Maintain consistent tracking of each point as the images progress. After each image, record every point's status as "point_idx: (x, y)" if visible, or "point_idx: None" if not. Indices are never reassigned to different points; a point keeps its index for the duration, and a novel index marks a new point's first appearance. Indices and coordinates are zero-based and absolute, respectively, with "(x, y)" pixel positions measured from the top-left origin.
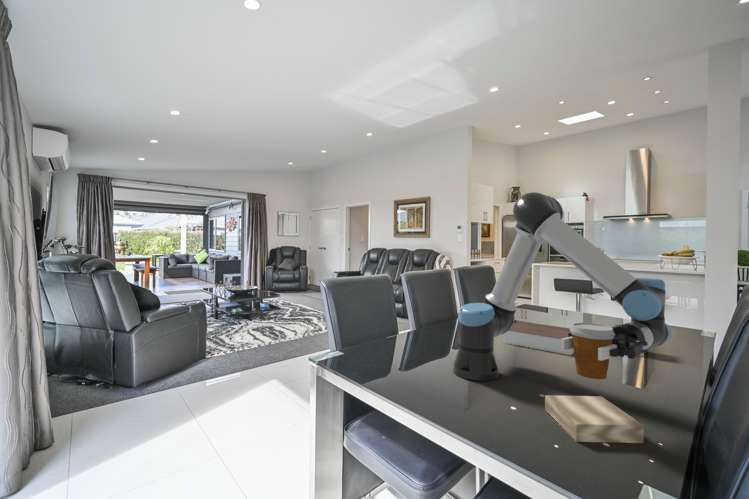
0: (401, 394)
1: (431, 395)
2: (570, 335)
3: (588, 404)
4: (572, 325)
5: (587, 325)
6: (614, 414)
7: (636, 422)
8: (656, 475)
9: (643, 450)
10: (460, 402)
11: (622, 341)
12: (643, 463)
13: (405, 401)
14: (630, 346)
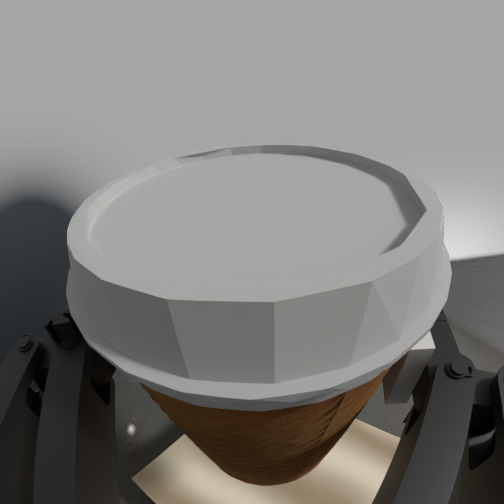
0: (500, 271)
1: (498, 300)
2: (495, 375)
3: (291, 501)
4: (361, 155)
5: (341, 223)
6: (205, 494)
7: (147, 484)
8: (124, 388)
9: (145, 458)
10: (471, 323)
11: (48, 498)
12: (142, 409)
13: (478, 266)
14: (20, 370)
